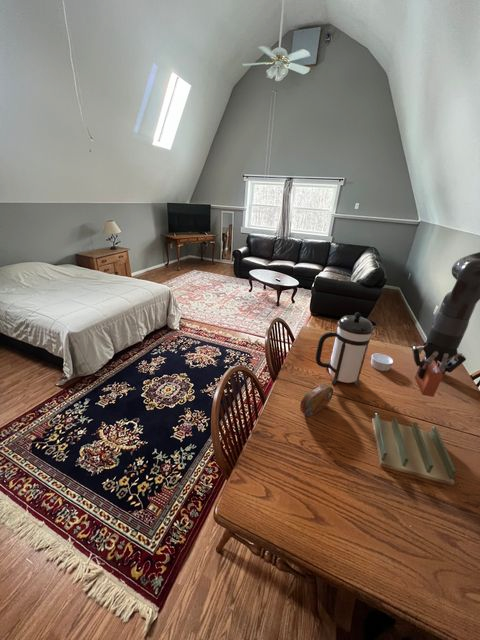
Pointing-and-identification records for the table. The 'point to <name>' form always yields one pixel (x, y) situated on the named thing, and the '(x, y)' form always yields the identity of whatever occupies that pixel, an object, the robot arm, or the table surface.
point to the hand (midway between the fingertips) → (427, 378)
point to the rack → (413, 450)
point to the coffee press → (347, 348)
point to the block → (429, 380)
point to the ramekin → (381, 362)
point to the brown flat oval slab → (316, 399)
